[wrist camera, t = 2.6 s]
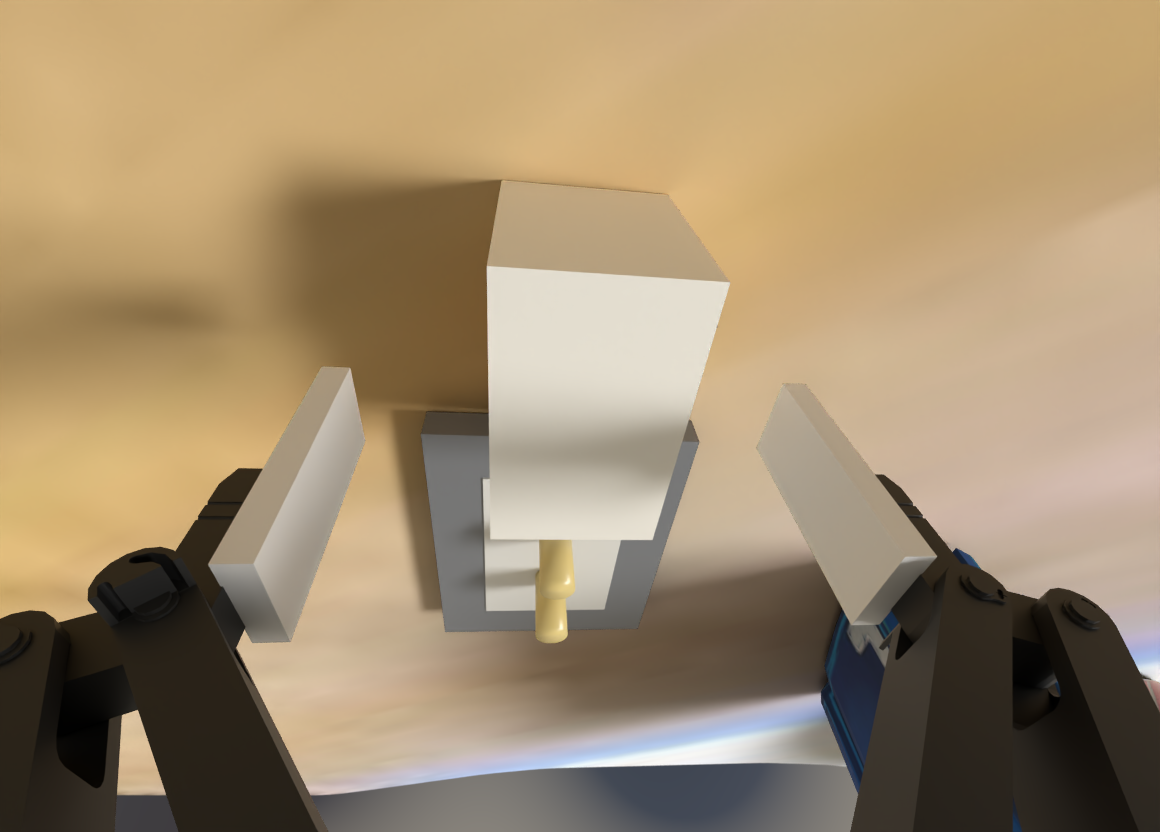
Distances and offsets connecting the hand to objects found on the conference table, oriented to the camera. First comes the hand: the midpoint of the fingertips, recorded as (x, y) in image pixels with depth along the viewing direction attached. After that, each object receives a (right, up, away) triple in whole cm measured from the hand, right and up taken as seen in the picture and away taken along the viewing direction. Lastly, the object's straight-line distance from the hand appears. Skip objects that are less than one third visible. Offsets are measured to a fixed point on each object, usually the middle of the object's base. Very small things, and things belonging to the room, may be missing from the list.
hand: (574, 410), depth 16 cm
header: (-1, -6, +12) cm, 14 cm away
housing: (0, +4, +4) cm, 6 cm away
